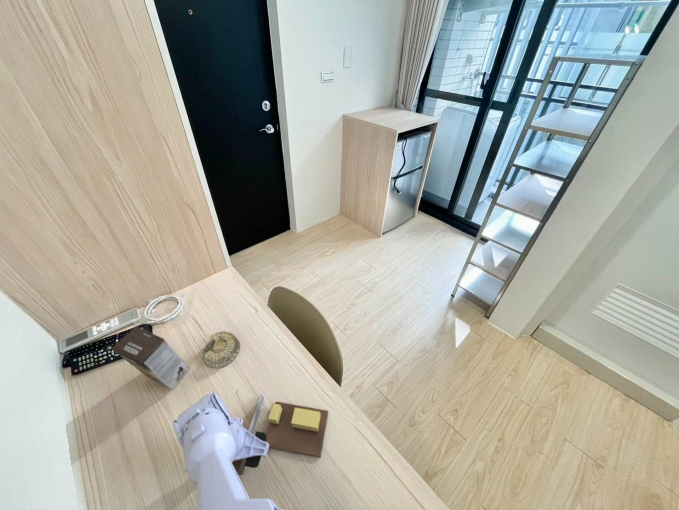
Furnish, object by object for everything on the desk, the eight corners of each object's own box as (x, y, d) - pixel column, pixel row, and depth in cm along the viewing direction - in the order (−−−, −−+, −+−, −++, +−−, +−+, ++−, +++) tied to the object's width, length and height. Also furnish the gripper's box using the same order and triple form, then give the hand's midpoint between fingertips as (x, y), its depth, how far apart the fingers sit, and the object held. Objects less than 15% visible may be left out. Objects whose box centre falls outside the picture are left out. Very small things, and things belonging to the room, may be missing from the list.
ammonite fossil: (242, 333, 80) (239, 324, 76) (238, 367, 73) (234, 358, 69) (207, 336, 79) (202, 326, 75) (199, 370, 72) (193, 361, 68)
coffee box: (146, 377, 70) (109, 348, 59) (166, 355, 75) (135, 324, 63) (172, 391, 68) (139, 364, 57) (191, 368, 72) (164, 338, 61)
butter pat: (278, 424, 62) (275, 420, 60) (270, 422, 62) (268, 418, 60) (282, 409, 64) (280, 404, 62) (275, 407, 64) (272, 403, 62)
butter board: (320, 457, 58) (320, 456, 58) (263, 446, 60) (262, 445, 59) (328, 412, 65) (328, 410, 64) (276, 402, 66) (275, 401, 65)
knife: (242, 475, 56) (238, 472, 54) (233, 473, 56) (228, 470, 54) (267, 398, 67) (264, 393, 64) (259, 397, 67) (256, 392, 65)
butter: (317, 431, 61) (317, 428, 59) (292, 427, 62) (290, 423, 59) (320, 416, 63) (320, 411, 61) (296, 411, 64) (294, 407, 62)
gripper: (269, 417, 49) (280, 435, 59) (195, 404, 51) (218, 424, 60) (254, 465, 44) (269, 477, 54) (173, 448, 46) (202, 462, 55)
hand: (241, 451), depth 57 cm, fingers open, 7 cm apart
